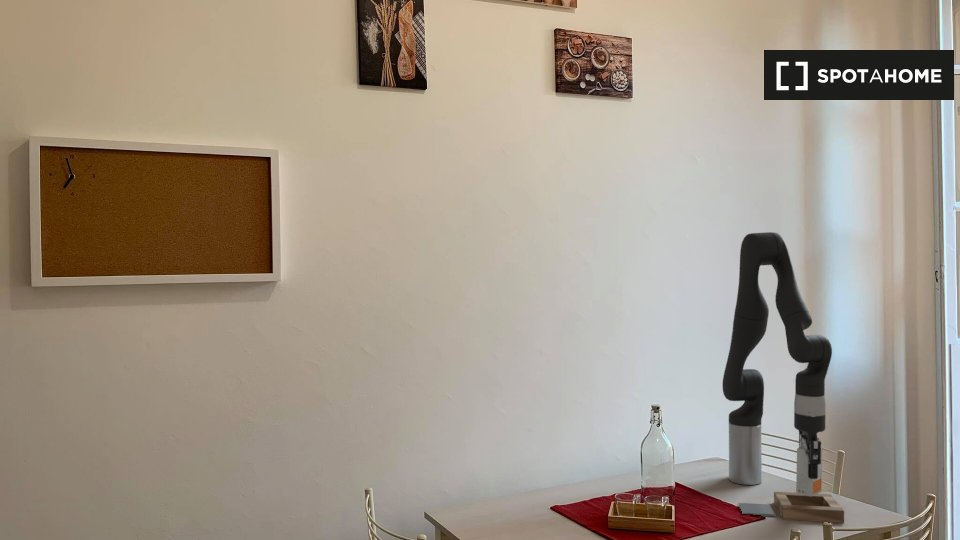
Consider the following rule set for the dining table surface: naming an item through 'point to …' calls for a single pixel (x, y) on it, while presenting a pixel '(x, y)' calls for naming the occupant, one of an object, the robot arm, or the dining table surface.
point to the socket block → (808, 507)
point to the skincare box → (802, 480)
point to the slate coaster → (756, 509)
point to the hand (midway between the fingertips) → (809, 473)
